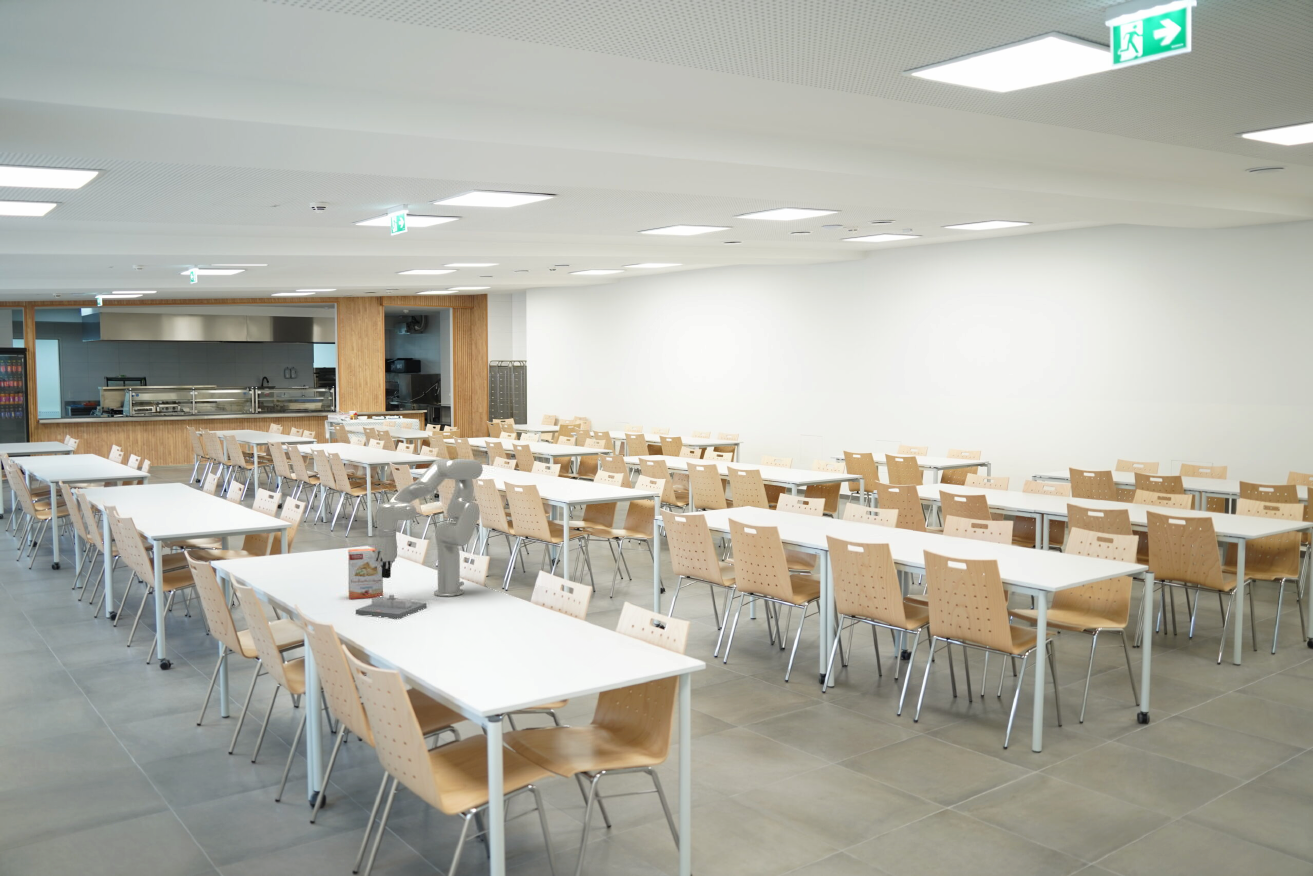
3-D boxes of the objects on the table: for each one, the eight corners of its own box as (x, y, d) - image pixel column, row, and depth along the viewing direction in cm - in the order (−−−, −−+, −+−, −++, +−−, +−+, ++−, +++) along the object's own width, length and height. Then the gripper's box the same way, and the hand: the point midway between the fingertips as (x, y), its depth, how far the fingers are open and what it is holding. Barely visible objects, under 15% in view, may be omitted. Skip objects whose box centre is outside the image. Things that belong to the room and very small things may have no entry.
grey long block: (378, 603, 404) (378, 596, 404) (412, 606, 399) (412, 599, 399) (371, 606, 399) (371, 598, 399) (405, 609, 394) (405, 602, 394)
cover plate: (384, 603, 412) (384, 588, 411) (426, 607, 405) (426, 592, 405) (355, 614, 393) (355, 598, 393) (398, 619, 387) (398, 602, 386)
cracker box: (349, 599, 419) (349, 551, 418) (348, 596, 424) (347, 548, 423) (383, 597, 424) (383, 549, 423) (381, 594, 430) (381, 547, 428)
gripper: (389, 530, 414) (388, 574, 415) (368, 535, 400) (367, 580, 401) (404, 532, 412) (404, 575, 412) (383, 536, 398) (383, 581, 398)
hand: (386, 577), depth 407 cm, fingers closed
